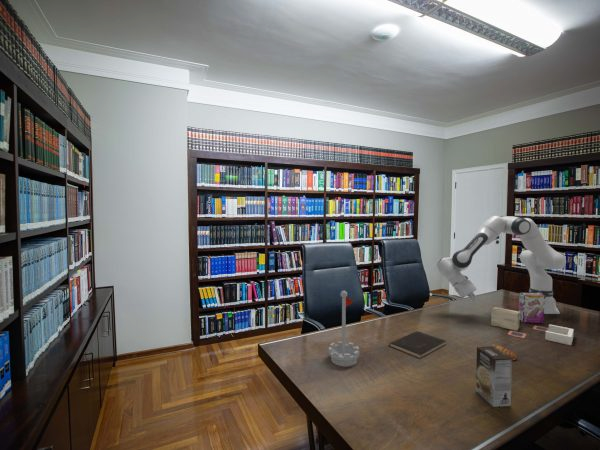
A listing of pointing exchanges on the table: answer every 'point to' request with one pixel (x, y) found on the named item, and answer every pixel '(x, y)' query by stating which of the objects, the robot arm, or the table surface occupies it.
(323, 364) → the table surface
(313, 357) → the table surface
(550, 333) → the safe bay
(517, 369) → the table surface
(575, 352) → the table surface
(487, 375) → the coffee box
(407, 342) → the hardcover book
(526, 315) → the candy bar box
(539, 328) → the plate
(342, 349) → the flag stand
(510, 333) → the plate
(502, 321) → the maple block
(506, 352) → the pastry
